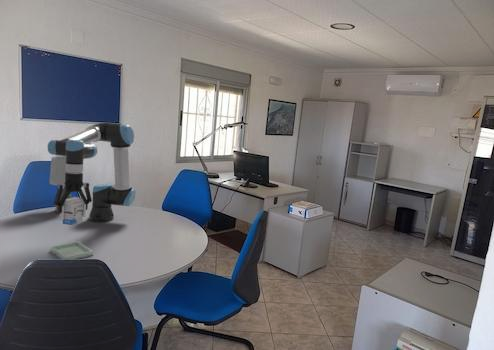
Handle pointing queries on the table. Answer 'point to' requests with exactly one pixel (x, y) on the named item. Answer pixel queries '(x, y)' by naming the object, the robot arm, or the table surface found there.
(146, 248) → the table surface
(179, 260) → the table surface
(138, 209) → the table surface
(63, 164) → the lamp
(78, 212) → the ink box
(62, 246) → the tray
